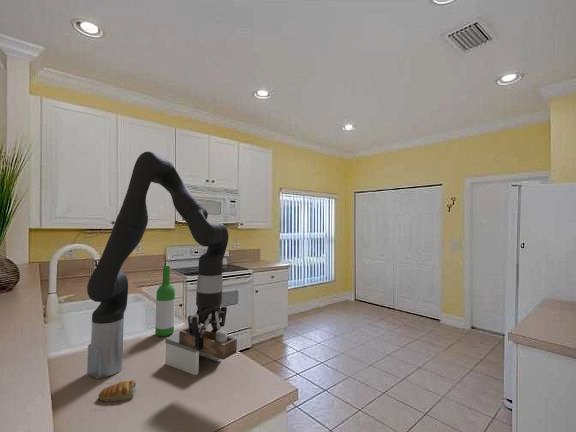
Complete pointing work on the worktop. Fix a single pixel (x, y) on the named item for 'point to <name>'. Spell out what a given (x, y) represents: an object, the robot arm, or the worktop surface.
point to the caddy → (211, 343)
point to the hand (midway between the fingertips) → (207, 345)
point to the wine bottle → (165, 306)
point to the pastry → (118, 391)
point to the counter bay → (183, 356)
